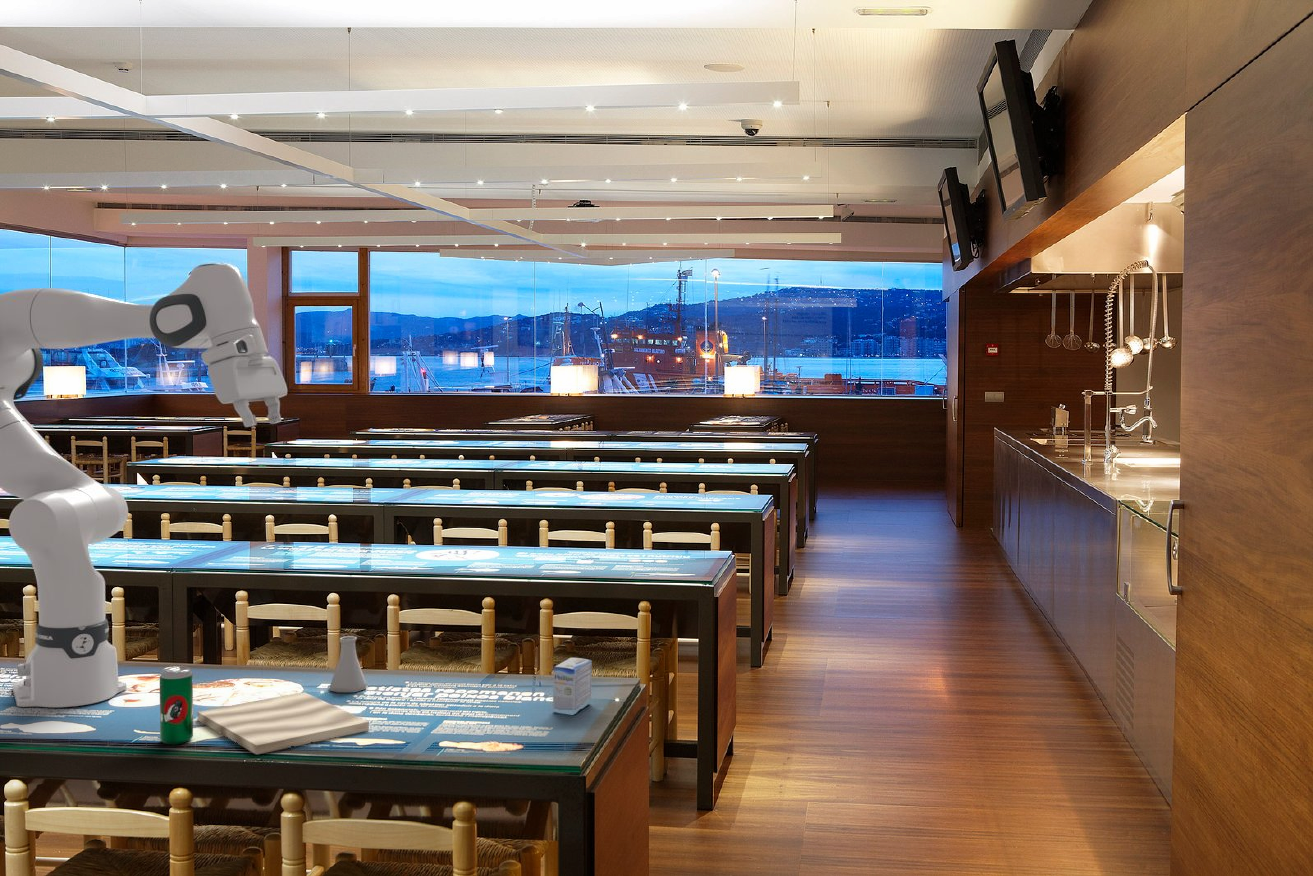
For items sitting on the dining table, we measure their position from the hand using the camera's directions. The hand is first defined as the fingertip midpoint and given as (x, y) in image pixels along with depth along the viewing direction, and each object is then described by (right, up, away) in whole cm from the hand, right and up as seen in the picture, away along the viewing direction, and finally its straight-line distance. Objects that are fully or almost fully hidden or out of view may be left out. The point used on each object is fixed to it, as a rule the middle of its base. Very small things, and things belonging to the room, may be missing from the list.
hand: (263, 424), depth 212 cm
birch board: (+5, -52, -6) cm, 53 cm away
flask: (+11, -51, +17) cm, 55 cm away
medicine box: (+55, -53, +6) cm, 76 cm away
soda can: (-9, -53, -16) cm, 56 cm away
